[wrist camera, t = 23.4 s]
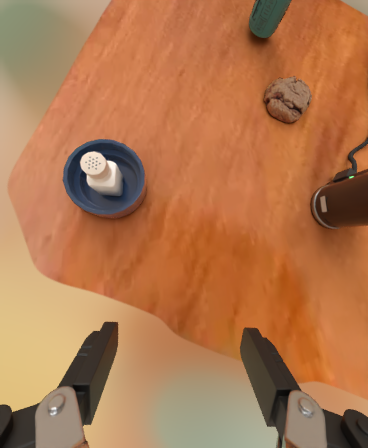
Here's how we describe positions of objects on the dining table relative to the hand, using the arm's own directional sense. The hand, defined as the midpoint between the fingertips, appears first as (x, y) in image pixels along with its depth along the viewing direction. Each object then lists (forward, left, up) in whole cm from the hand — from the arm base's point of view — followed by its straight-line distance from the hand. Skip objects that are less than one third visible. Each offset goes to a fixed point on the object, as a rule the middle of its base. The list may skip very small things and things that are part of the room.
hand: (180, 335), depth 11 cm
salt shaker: (-7, -17, -22) cm, 29 cm away
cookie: (-45, 0, -22) cm, 50 cm away
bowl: (-8, -18, -22) cm, 29 cm away
